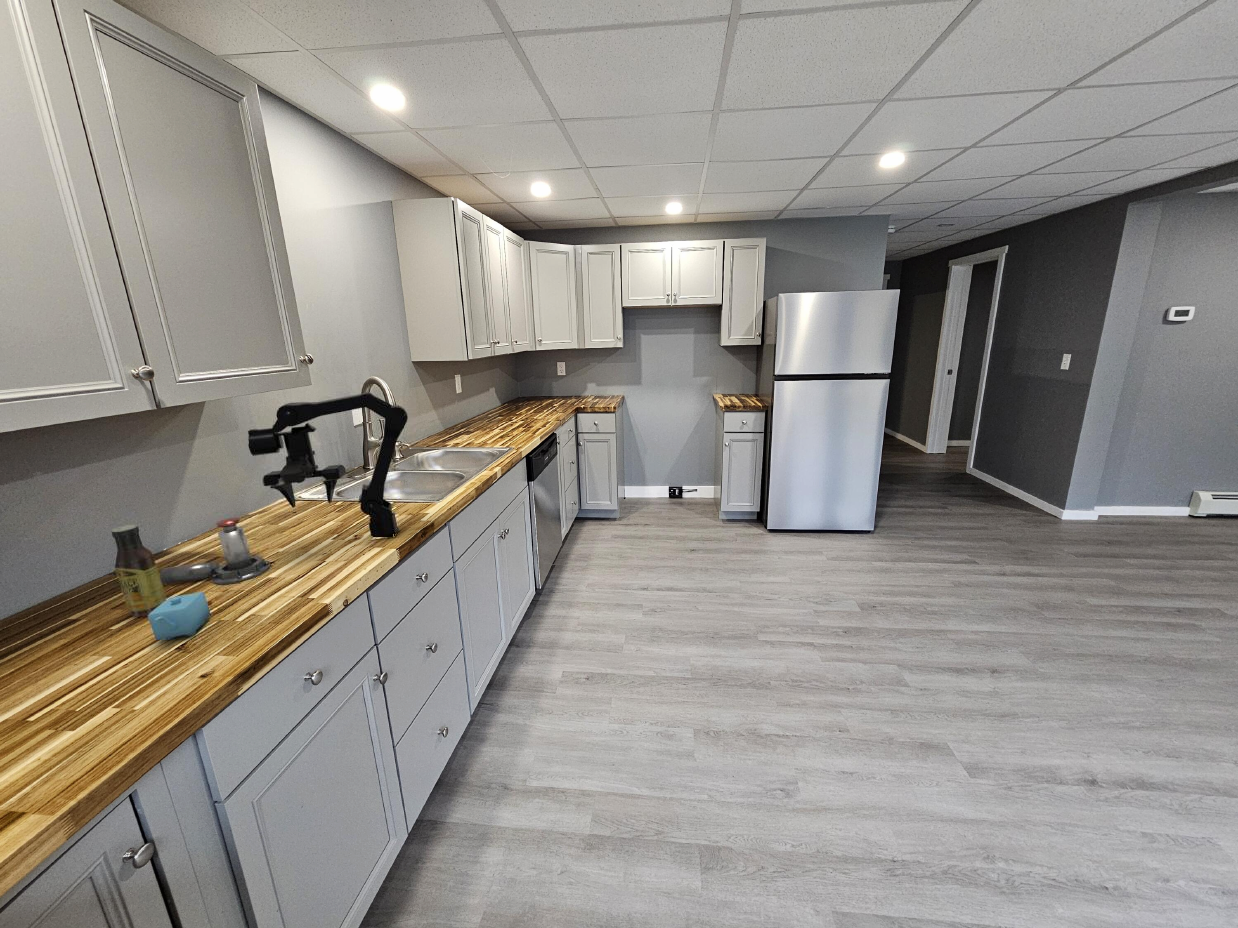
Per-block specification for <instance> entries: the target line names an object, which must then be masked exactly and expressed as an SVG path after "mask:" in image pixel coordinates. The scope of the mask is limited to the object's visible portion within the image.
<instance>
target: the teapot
mask: <svg viewBox="0 0 1238 928" xmlns="http://www.w3.org/2000/svg"><path fill="white" fill-rule="evenodd" d="M211 615H212V614H211V611H210V607H209V604H208V601H207V598H206V594H205V592H204V591H200V592H195V593H187V594H183V595H178V596H171V597H168V598H166V601H164V602H163V603H162V604H161V605H159V606H158V607H157V608H156V609H155V610H153V611H152V612H151V613H150V614H149V615H147V618H148V621H149V624H150V627H151V629H152V632H153V635H154V639H155V641H158V640H159V641H160V640H165V641H170V640H172V639H175V637H180V636H181V637H182V636H187V637H191V636H193V635H195V634H196V633H197V630H198V629H199V628H200V627H201V626H204V625H205V624H206V621H207V620H208V618H210V617H211Z"/></svg>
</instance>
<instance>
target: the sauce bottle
mask: <svg viewBox="0 0 1238 928" xmlns="http://www.w3.org/2000/svg"><path fill="white" fill-rule="evenodd" d="M139 532H140V529H139V526H138V525H137V524H128V525H123V526H119V527H116V528H113V529H112V530H111V536H112V537H113V538H114V540H115V544H116V549H117V550H116V558H115V563H114V569H115V573H116V575H117V576H116V577H117V578H118V583H119V585H120V590H121V592H122V595H123V597H124V602H125V604H126V606H127V610H128V611H129V613H130V615H131V616H132V617H134V618H135V617H148V615H149V614H150V613H151V612H152V611H153V610H155V609H156V608H157V607H158V606H159V605H161V604H162V603H163V602H164V601H166V600H167V596H166V593H165V590H164V587H163V585H164V584H162V582H161V579H160V575H159V574H160V571H159V569H158V566H157V563H156V561H155V557H154V554H153V552H152V551H151V550H150V549H149V548H147V547H145V545H143V541H142V539H141V536H140V534H139Z"/></svg>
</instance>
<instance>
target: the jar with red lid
mask: <svg viewBox="0 0 1238 928" xmlns="http://www.w3.org/2000/svg"><path fill="white" fill-rule="evenodd" d="M240 522H241V520H240V518H239V517H231V518H226V519H222V520H220V521H217V522H216V523H215V524H216V527H217V528H222V529H221V530H220V531H218V532H217V535H218V539H219V542H220V545H221V549H222V552H223V555H224V559H225V563H227V566H228V569H229V571H232V570H239V569H242V568H245V567H248V566H251V565H253V562H252V558H251V557H252V555H251V552H250V548H249V545H248V540H247V537H246V534H245V530H244V527H243V526H238V525H237V524H239V523H240Z"/></svg>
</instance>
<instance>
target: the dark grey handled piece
mask: <svg viewBox="0 0 1238 928" xmlns="http://www.w3.org/2000/svg"><path fill="white" fill-rule="evenodd" d="M251 558H252V562H253V565H251V566H248V567H245V568H242V569H239V570H232V571H229V569H228V566H227V563H226V562H225V563H224V564H221V565H220V564H219V563H218V561H209V562H200V563H194V564H185V565H177V566H170V567H163V568H162V569H161V570H160V571H159V575H160V579H161V582H162V585H170V584H177V583H178V584H179V583H185V582H193V581H199V580H207V579H211V582H212V584H214V585H216V586H226V585H233V584H237V583H242V582H245V581H246V582H247V581H249V580H252V579H254V578H257V577H259V576H261V575H263V574H265V573H266V572H268V571H269V570H270V568H272V567H271V563H270V561H269V560H265V559H264V558H263V557H262V556H260V555H254V556H252V555H251Z"/></svg>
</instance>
